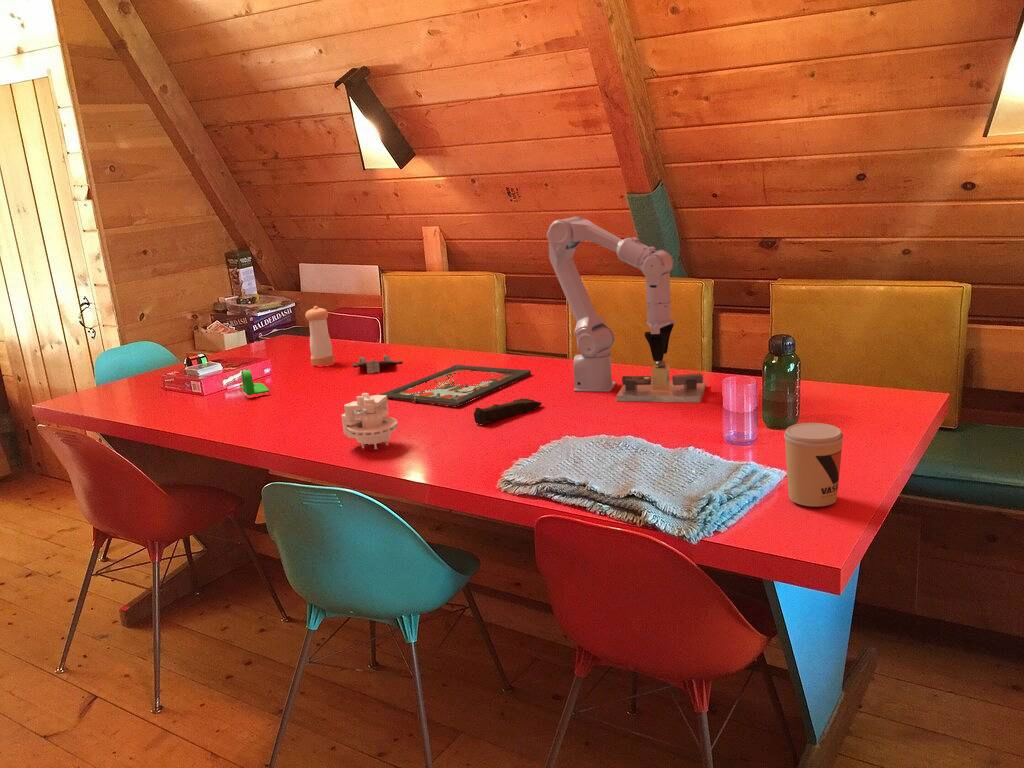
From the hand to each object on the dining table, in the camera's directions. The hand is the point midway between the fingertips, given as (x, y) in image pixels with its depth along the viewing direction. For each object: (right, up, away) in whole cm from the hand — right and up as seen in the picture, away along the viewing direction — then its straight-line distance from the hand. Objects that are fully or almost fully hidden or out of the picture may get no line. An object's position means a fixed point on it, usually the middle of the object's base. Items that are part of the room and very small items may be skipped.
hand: (660, 357), depth 216 cm
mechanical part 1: (-109, -10, +33) cm, 114 cm away
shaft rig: (+1, -9, +2) cm, 9 cm away
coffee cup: (+15, -26, -66) cm, 72 cm away
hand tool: (-37, -15, -14) cm, 42 cm away
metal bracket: (-70, -1, +50) cm, 86 cm away
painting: (-51, -8, +24) cm, 57 cm away
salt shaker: (-95, -1, +61) cm, 113 cm away
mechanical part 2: (-67, -21, -21) cm, 73 cm away
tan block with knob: (0, -7, +2) cm, 8 cm away
